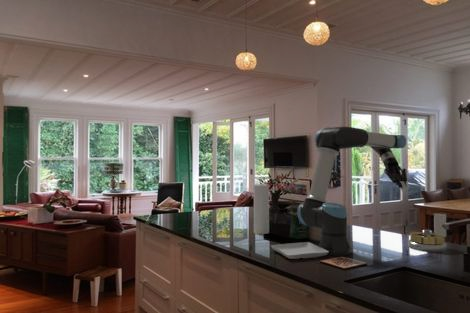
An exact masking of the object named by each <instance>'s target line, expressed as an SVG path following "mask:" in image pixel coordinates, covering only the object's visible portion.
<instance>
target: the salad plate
mask: <svg viewBox="0 0 470 313" xmlns="http://www.w3.org/2000/svg"><path fill="white" fill-rule="evenodd" d="M270 247H271V249H272V250H274V251H275V252H277V253H279V254H280V255H282V256H284V257H285V258H287V259H290V260H300V258H303V259H311V258H319V257H324V256H327V255H326V254H328V253H329V251H327V250H325V249H323V248H321V247H319V245H316V244H313V243H312V242H309V241H306V242H305V241H304V242H293V243H283V244H273V245H272V244H271V245H270Z"/></svg>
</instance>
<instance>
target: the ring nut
mask: <svg viewBox="0 0 470 313" xmlns="http://www.w3.org/2000/svg"><path fill="white" fill-rule="evenodd" d="M445 223H446V224H447V214H446V213H433V228H434V230H433V231H434V232H432V237H431V235H428V234H426V237H424V236H422V231H421V232H417V231H411V232H410V233H409V234H410V239H411V241H413V242H417V243H423V244H444V243H446V242H445V238H446V237H447V228H446V229H444V228H443V227H442V225H443V224H445ZM410 239H409V240H410Z"/></svg>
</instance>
